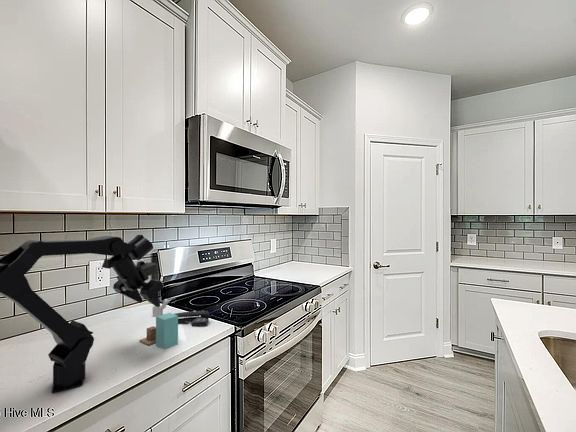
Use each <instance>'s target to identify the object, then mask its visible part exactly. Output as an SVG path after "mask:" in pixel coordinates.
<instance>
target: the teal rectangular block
mask: <svg viewBox="0 0 576 432" xmlns="http://www.w3.org/2000/svg"><path fill="white" fill-rule="evenodd" d="M178 319H179V318H178V315H175V313H172V312H166V313H163V315H160V316H157V317H155V327H156V343H155V345H156V346H157V347H159V348H161V349H163V350H166V349H168V348H171V347H174V346H175V345H177V344H179V323H178Z"/></svg>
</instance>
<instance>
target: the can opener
mask: <svg viewBox="0 0 576 432" xmlns="http://www.w3.org/2000/svg"><path fill="white" fill-rule="evenodd" d="M174 314H175V315H178V324H183V323H190V322H191V324H190V325H191V326H192V327H203V326H206V325H208V323H209V321H210V320H209V319H210V317H211V316H210V314H211V313H210V312H209V311H207V310H194V309H193V311H184V312H183V311H182V312H176V313H174Z"/></svg>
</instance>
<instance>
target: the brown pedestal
mask: <svg viewBox="0 0 576 432" xmlns="http://www.w3.org/2000/svg"><path fill="white" fill-rule="evenodd" d="M138 341H139V343H142V344H143V345H145V346H148V347H149V346H152V345H156V326H150V327H147V328H146V337H144V338H141V339H139V340H138Z"/></svg>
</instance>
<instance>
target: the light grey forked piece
mask: <svg viewBox="0 0 576 432" xmlns="http://www.w3.org/2000/svg"><path fill="white" fill-rule="evenodd" d="M169 301H170V300H169V299H167V298H165V299H164V300H163V302H162V304H161V305H160V306H159V307H156V306H154V305H153V307H152V317H154V318H156V317H157V316H160V315H163V314H164V309H166V307H167V305H168V303H169Z"/></svg>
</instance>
